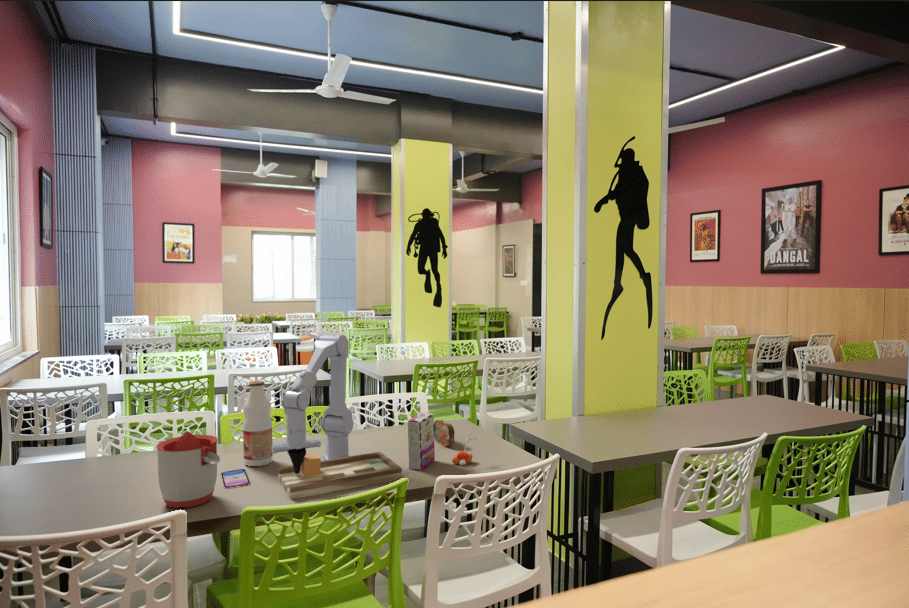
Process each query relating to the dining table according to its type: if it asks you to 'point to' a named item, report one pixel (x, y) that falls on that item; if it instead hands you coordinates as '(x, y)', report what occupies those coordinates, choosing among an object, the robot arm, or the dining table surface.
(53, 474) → the dining table surface
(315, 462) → the block
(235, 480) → the smartphone
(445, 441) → the tin
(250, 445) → the fruit juice
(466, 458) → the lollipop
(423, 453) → the candy bar box
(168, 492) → the citrus juicer
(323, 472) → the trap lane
